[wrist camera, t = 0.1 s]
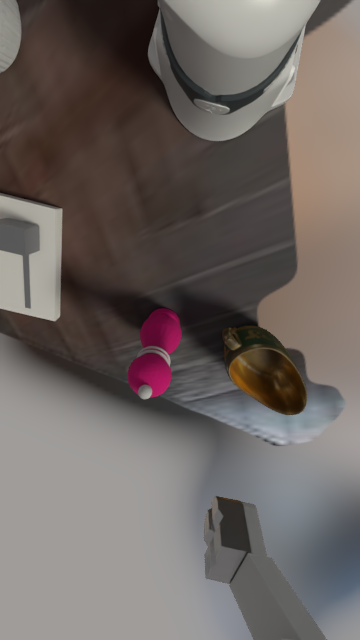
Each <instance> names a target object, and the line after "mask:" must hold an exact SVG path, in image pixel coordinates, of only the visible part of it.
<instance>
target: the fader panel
mask: <svg viewBox="0 0 360 640" xmlns="http://www.w3.org/2000/svg"><path fill="white" fill-rule="evenodd" d="M4 218H11V219H15V220H19V221H23V222H27V223H31V224H35V225H39V232H40V251H37V252H35V253H32V254H30V255H27V256H22V255H18V254H14V253H10V252H6V251H2V250H0V309H5V310H9V311H13V312H18V313H22V314H26V315H30V316H35V317H39V318H43V319H47V320H52V321H56V320H57V319H58V318H59V317H60V292H61V246H62V208H58V207H54V206H50V205H46V204H42V203H39V202H35V201H31V200H27V199H23V198H19V197H15V196H11V195H7V194H3V193H0V219H4Z"/></svg>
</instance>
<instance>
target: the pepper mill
mask: <svg viewBox="0 0 360 640" xmlns="http://www.w3.org/2000/svg"><path fill="white" fill-rule="evenodd" d="M140 338H141V343H142V345H143V347H144V348H143V349H142V350H141V351H140V352H139V353H138V356H137V358H136V359H135V360H134V361H133V362H132V363H131V365H130V367H129V370H128V382H129V385H130V387H131V388H132V390H133V391H134V392H136V393H137V394H138V395H139V396H140V397H141V398H142V399H148V398H149V397H156V396H158V395H160V394H162V393H163V392H164V391H165V390H166V389H167V388H168V386H169V384H170V381H171V369H170V357H169V354H170V353H172V352H173V351H174V350H175V349H176V348H177V346H178V345H179V343H180V339H181V329H180V319H179V317H178V316H177V314H176V313H175V312H173V311H172V310H170V309H166V308H160V309H156V310H154V311H153V312H152V313H151V314H150V315H149V317H148V319H147V320H145V322H144V323H143V325H142V327H141V331H140Z"/></svg>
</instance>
